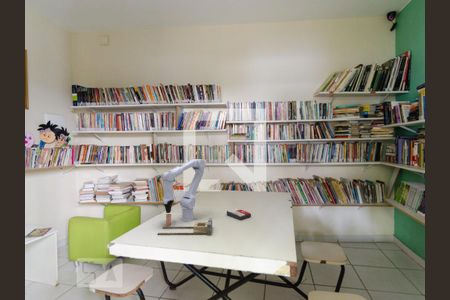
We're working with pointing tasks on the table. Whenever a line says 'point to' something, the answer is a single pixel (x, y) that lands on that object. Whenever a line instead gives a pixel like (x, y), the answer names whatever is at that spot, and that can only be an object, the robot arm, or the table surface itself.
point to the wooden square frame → (200, 227)
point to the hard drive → (238, 214)
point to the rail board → (209, 228)
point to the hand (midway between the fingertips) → (168, 212)
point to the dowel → (168, 220)
